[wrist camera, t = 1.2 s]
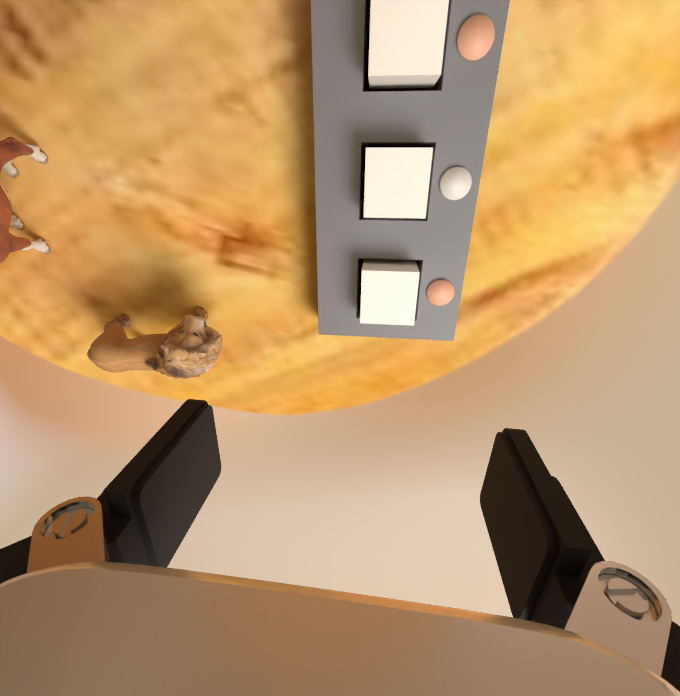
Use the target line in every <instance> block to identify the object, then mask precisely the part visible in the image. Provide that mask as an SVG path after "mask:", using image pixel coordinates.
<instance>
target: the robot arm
mask: <svg viewBox="0 0 680 696" xmlns="http://www.w3.org/2000/svg"><path fill="white" fill-rule="evenodd" d="M220 472H221V461H220V454H219V448H218V442H217V435H216V428H215V422H214V415H213V409H212V406H210V405H208V403H207V402H206V401H204V400H194V399H188V400H187V401H185V403H184V404H183V405H182V406H181V407H180V408H179V409H178V410H177V411H176V412H175V413H174V415H173V416H172V417H171V418H170V419H169V420H168V421H167V422H166V423H165V424H164V425H163V426H162V427H161V429H160V430H159V431H158V432H157V433H156V434H155V435H154V436H153V437H152V438H151V439H150V441H149V442H148V443H147V444H146V445H145V446H144V447H143V448H142V449H141V450H140V451H139V452H138V454H137V455H136V456H135V457H134V458H133V459H132V460H131V461H130V462H129V463H128V464H127V465H126V466H125V468H124V469H123V470H122V471H121V472H120V473H119V474H118V475H117V476H116V477H115V478H114V479H113V481H112V482H111V483H110V484H109V485H108V486H107V487H106V488H105V489H104V491H103V493H102V494H101V495H100V496H99V497H98V498H97V499H95V498H92V497H78V498H74V499H70V500H68V501H65V502H63V503H61V504H58V505H57V506H55V507H54V508H52V509H51V510H49V511H48V512H47V513H46V514H44V515H43V516H42V517H41V518H40V519H39V521H38V522H37V523H36V525H35V527H34V529H33V532H32V536H30V537H28V538H25V539H23V540H21V541H18V542H16V543H14V544H11V545H9V546H7V547H4V548H2V549H0V696H680V626H678V625H677V624H676V623H674V622H672V619H671V618H672V617H671V610H670V607H669V605H668V603H667V601H666V599H665V598H664V596H663V595H662V594H661V592H660V591H659V590H658V589H657V588H656V587H655V586H654V585H653V584H652V583H651V582H650V581H649V580H648V579H647V578H645V577H644V576H642V575H641V574H639V573H638V572H637V571H635V570H633V569H631V568H629V567H627V566H625V565H623V564H619V563H616V562H613V561H605V560H604V558H603V557H602V555H601V553H600V551H599V550H598V548H597V546H596V544H595V543H594V541H593V539H592V538H591V536H590V534H589V532H588V531H587V529H586V527H585V525H584V524H583V522H582V520H581V519H580V517H579V515H578V513H577V512H576V510H575V508H574V506H573V505H572V503H571V501H570V499H569V498H568V496H567V495H566V492H565V491H564V489H563V487H562V486H561V484H560V482H559V481H558V480H557V478H555V477H554V476H551V475H550V473H549V471H548V469H547V468H546V466H545V464H544V463H543V461H542V459H541V457H540V455H539V454H538V452H537V450H536V448H535V446H534V445H533V443H532V441H531V439H530V437H529V436H528V434H527V432H526V431H525V430H520V429H508V428H505V429H504V430H503V431H502V432H498V433H497V435H496V437H495V441H494V445H493V449H492V453H491V456H490V460H489V464H488V468H487V471H486V475H485V479H484V483H483V487H482V490H481V494H480V504H481V509H482V512H483V516H484V519H485V522H486V526H487V529H488V533H489V536H490V540H491V543H492V546H493V550H494V553H495V557H496V560H497V564H498V567H499V571H500V574H501V577H502V581H503V584H504V588H505V591H506V595H507V598H508V602H509V605H510V609H511V612H512V615H513V618H512V617H506V616H500V615H493V614H488V613H482V612H475V611H469V610H463V609H457V608H451V607H444V606H436V605H430V604H423V603H416V602H410V601H403V600H396V599H389V598H383V597H376V596H369V595H362V594H355V593H348V592H341V591H334V590H327V589H320V588H313V587H306V586H298V585H291V584H284V583H277V582H270V581H263V580H256V579H248V578H241V577H233V576H226V575H219V574H211V573H204V572H197V571H189V570H182V569H173V568H167V566H168V565H169V563H170V561H171V559H172V558H173V556H174V554H175V552H176V550H177V549H178V547H179V545H180V544H181V542H182V540H183V538H184V537H185V535H186V533H187V532H188V530H189V528H190V526H191V524H192V523H193V521H194V519H195V518H196V516H197V514H198V512H199V510H200V509H201V507H202V505H203V504H204V502H205V500H206V498H207V496H208V495H209V493H210V491H211V490H212V488H213V486H214V484H215V483H216V481H217V479H218V477H219V475H220Z"/></svg>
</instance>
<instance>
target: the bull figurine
mask: <svg viewBox="0 0 680 696" xmlns="http://www.w3.org/2000/svg"><path fill="white" fill-rule="evenodd" d="M22 155H27V156H30V157H32V158H33V159H35V160H36V161H38V162H40V163H43V164H46V163H47V161H48V158H47V156H46V154H44V153H43V152H40V148H39V147H38V146H36V145H29V144H25V143H22V142H20V141H18V140H16V139H15V138H13V137H8V138H6V139H5V140H3V141H0V172H1V169H3V170H4V171H5V172H6V173H8V174H9V175H10V176H11V177H12V178H16V177H17V176H18V170H17V169H16V168H15V167H14V166H13V165H12V164H11V163H12V162H13V159H15V158H16V157H18V156H22ZM11 214H12V208H11V202H10V199H9V196H8V194H7V190H6V189H4V187H3V186H2V184H1V182H0V263H1V262H3V261H4V260H5V259H6V257H7V256H8V255H9V253H10V252H13V251H17V250H29V249H36V250H40V251H41V252H43V253H45V254H48V253H49V252H50V247H49V246H48V245H46V242H44V241H42V239H37V240H35V241H31V240H28V239H26V238H20V237H16V236H14V235H12V234H10V233H9V231H8V230H9V227H15V228H17V229H20V230H22V229H23V228H24V224H23V223H22V222H21V221H20V219H19V218H16V216H15V215H11Z"/></svg>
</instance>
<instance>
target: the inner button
mask: <svg viewBox="0 0 680 696" xmlns="http://www.w3.org/2000/svg"><path fill="white" fill-rule="evenodd" d="M448 5H449V0H371V9H370V39H369V69H368V78H369V85H370V89H382V88H433V87H434V85H435V83H436V82H437V80H438V79H439V77H440V75H441V70H442V61H443V52H444V42H445V33H446V24H447V14H448Z"/></svg>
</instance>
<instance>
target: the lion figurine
mask: <svg viewBox="0 0 680 696" xmlns="http://www.w3.org/2000/svg"><path fill="white" fill-rule="evenodd" d="M207 314H208V313H207V312H206V311H205V310H203V309H201V308H198V309H197V310H196V311H195V312H194V313H193V314H192V315H190V314H188V315H186V316H185V320H184V321H182V322H180V323H179V324H178V325H177V326H176V327H174V328H173V329H172V330H170V331H169V332H168V333H167V334H150V335H144V336H140V337H137V338H134V339H128V338H127V336H126V333H125V331H124V329H123V326H127V325H129V322H130V320H129V319H128V317H127V316H125V315H119V316H117V317H116V318H115V319H113V320H112V321H111V322H108V323H107V324H106V325H105V326H104V332H103V333H102V334H101V335H100V336H99V337H98V338H97V339H96V340H95V341H94V342H93V343H92V344H91V347H90V349H89V350H88V353H87V355H88V358H89V359H90V360H91V361H92V362H94V363H95V364H96V366H98V367H99V368H101V369H103V370H106V371H109V372H115V373H117V372H124V371H130V370H155V371H157V372H160V373H161V374H166V376H169V377H171V376H173V377H174V378H191V377H198V376H200V375H201V374H203V373H205V372H206V371H209V370H210V368H212V367H213V366H214V365H215V363H216V362H217V360H218V356H219V354H220V351H221V348H222V335H220V334H219V333H218V332H217V331H216V330H214V329H213V328H211V327H208V326H206V319H207V318H208V316H207ZM121 326H122V327H121Z"/></svg>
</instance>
